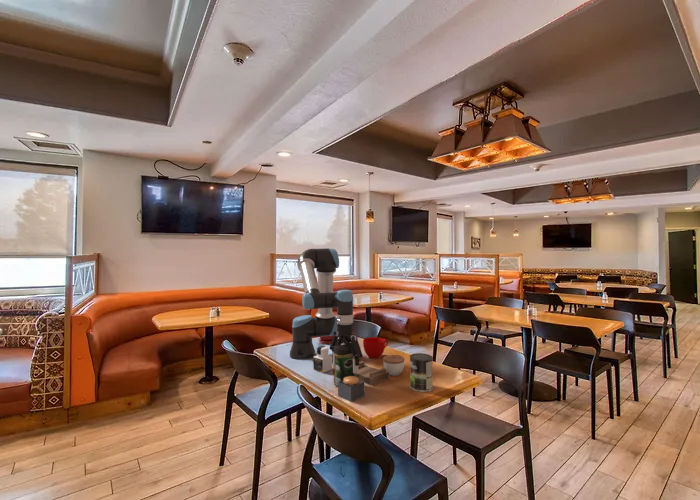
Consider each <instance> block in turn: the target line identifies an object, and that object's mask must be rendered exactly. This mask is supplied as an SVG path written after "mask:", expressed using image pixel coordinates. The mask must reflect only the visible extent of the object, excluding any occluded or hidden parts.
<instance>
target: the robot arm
mask: <svg viewBox="0 0 700 500" xmlns="http://www.w3.org/2000/svg"><path fill="white" fill-rule="evenodd" d="M296 262H297V263H296V266H297V269H298V271H299V272H300V276H301V281H302V286H303V290H304V293H303V294H302V297H301V303H302V308H303V309H304V310H317V312H316V313H315V317H313V316H312V315H310V314H305V315H300V316H296V317H294V318H293V320H292V326H291V327H292V344H291V348H290V350H289V357H290V359H294V360H305V359H311V358H313V357H314V356H316V350H315V347H314V344H313V338H320V337H324V336H327V337H328V336H333V335H334V336H333V339H332V342H331V344H329V347H328V350H331V352H332V367H335V356H334V347H335V346H339V345H343V344H347V346H349V348H350V350H351V352H352V354H353V356H354V358H353V373H356V372H358V365H359V362H360V359H361V358H363V356H364V355H363V352H362V350H361V346H360V344H359V339H358V338H359V337H358V335H357V334H355V335H353V333H354V324H353V323H354V295H353V290H352V289H340V290H336V291H333V290H334V289H333V288H334V274H336V273H337V272H336V271H337V269H338V268H339V267H340V257H339V253H338V251H337V250H336V249H335V248H308V249H306V250H304V251H303V252H302V253H301V254H300V255H299V256H298V259H297V261H296ZM315 269H316V271H315ZM316 272H317V273H318V279H317V275H316ZM333 308H334V309H335V308H336V315H335V313H334V312H333ZM336 330H337V331H336Z"/></svg>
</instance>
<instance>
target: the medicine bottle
mask: <svg viewBox="0 0 700 500" xmlns="http://www.w3.org/2000/svg"><path fill="white" fill-rule="evenodd" d="M312 358H313V360H312V362H313V371H316V372H319V373H322V374H323V373H326V372H329V371H331V370H333V355H329V347H328V346H325V345H321V346H318V347H317V348H316V355H315V356H314V357H312Z"/></svg>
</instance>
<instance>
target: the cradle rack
mask: <svg viewBox="0 0 700 500" xmlns="http://www.w3.org/2000/svg"><path fill="white" fill-rule="evenodd" d="M355 377H357V378H358V380H360V381H363V382H364V384H366V385H369V386H372V387H373V386H375V385H378V384H381V383H383V382H386V381H387V380H390V375H389V373H388V372H386V369H385V368H384V367H382V368H379V369H378V368H375V367H374V366H373V367H372V366H368V365H366V364H365V361H359V365H358V372H356V373H355Z"/></svg>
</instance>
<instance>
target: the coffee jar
mask: <svg viewBox="0 0 700 500" xmlns="http://www.w3.org/2000/svg"><path fill="white" fill-rule="evenodd" d="M334 356H335V366H334V377H333V378H334V379H333V383H334V385H335V386H336V388H338V382H339V381H342V380H344V378H345V377H348V376H355V373H353V358H354V356H353V354H352V352H351V350H350V348H349V346H347V344H344V343H342V344H341V345H339V346H335V347H334Z"/></svg>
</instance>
